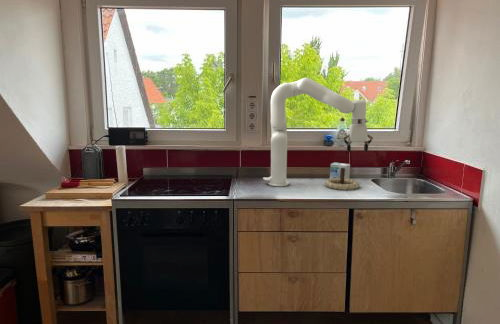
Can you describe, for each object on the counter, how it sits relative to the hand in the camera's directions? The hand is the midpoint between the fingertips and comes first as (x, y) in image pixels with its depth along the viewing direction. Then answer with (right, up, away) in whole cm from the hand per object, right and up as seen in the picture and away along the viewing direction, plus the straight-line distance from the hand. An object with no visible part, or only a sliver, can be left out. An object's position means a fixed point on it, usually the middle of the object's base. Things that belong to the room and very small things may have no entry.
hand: (357, 151), depth 201 cm
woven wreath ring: (-8, -19, +2) cm, 21 cm away
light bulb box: (-6, -18, +18) cm, 26 cm away
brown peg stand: (-8, -21, +3) cm, 22 cm away
